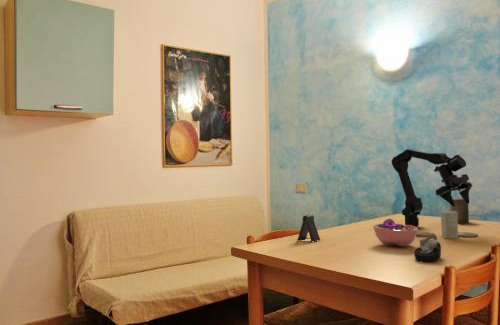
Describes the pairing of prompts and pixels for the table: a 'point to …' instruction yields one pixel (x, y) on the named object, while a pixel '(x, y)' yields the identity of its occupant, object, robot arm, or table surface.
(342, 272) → the table surface
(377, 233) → the cell model
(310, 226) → the black folding stand
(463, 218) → the pillar candle
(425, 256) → the caster wheel
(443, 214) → the skincare box
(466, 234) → the walnut coaster
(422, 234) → the coaster
